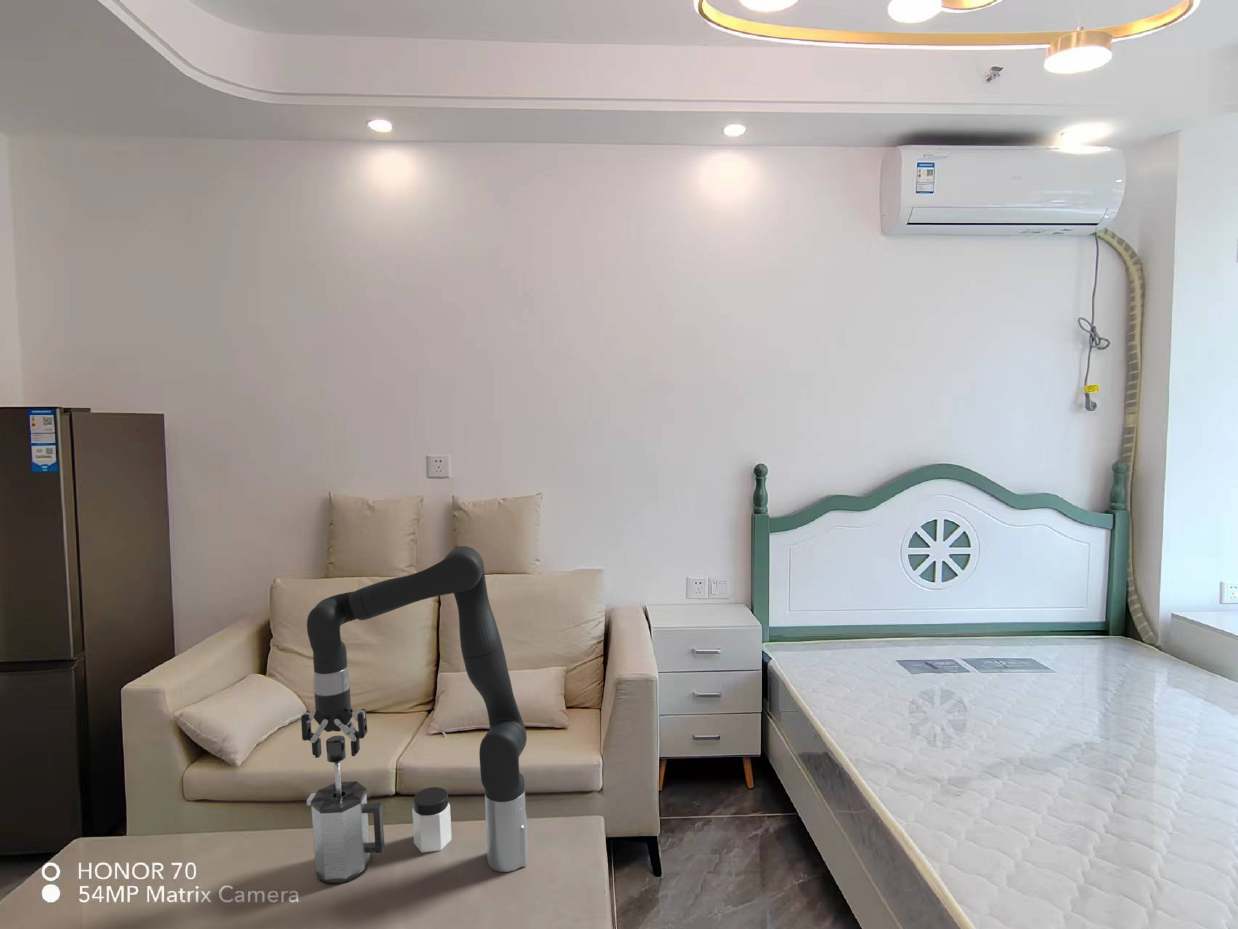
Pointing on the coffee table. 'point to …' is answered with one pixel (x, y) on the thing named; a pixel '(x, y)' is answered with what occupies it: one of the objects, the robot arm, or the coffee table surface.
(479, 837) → the coffee table surface
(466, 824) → the coffee table surface
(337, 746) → the plunger
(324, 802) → the press pot
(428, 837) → the jar
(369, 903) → the coffee table surface
